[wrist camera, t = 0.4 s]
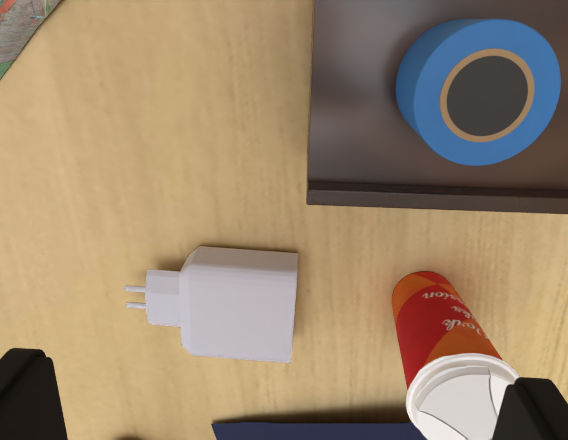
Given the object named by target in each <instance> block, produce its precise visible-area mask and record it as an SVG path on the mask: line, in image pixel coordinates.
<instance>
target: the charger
mask: <svg viewBox="0 0 568 440" xmlns="http://www.w3.org/2000/svg"><path fill="white" fill-rule="evenodd" d="M297 272H298V253H288V252H274V251H260V250H246V249H232V248H219V247H205V246H199V247H198V248H197V249H196V250H194V251H193V252H192V253H191V254H190V255H189V256H188V257H187V259H186V261H185V263H184V265H183V267H182V269H181V271H180V272H178V271H164V270H151V269H148V271H147V275H146V287H143V286H130V285H126V286H125V287H124V290H125V291H134V292H145V301H146V303H136V302H127V303H126V307H128V308H141V309H146V315H147V318H148V321H149V324H151V325H164V326H177V327H180V328H181V345H182V346H183V347H184V348H185V349H186V350H187V351H188V352H189V353H190V354H191V355H192V356H204V357H217V358H230V359H242V360H255V361H268V362H281V363H291V352H292V340H293V329H294V316H295V304H296V289H297Z"/></svg>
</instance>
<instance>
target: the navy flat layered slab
mask: <svg viewBox="0 0 568 440" xmlns="http://www.w3.org/2000/svg"><path fill="white" fill-rule="evenodd" d="M211 425H212V428H213V431H214V433H215V436H216V439H217V440H428V439H427V438H426V437H425V436H424V435H423V434H422V433H421V431H420V430H419V429H418V428H417V427H416V426H415V425H414V424H413V423H404V422H400V423H266V422H240V423H222V424H211Z"/></svg>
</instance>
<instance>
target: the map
mask: <svg viewBox="0 0 568 440" xmlns="http://www.w3.org/2000/svg"><path fill="white" fill-rule="evenodd" d="M59 1H60V0H0V79H1V77H2V76H3V74H4V73H5V71H6V70H7V69H8V67H9V66H10V65H11V63H12V61H14V59H15V58H16V57H17V55H18V54H19V52H20V51H21V50H22V48H23V47H24V46H25V44H26V43H27V41H28V40H29V38H30V37H31V36H32V34H33V33H34V31H35V30H36V29H37V28H38V26H39V25H40V24H41V23H42V22H43V21H44V19H45V18H46V17H47V16H48V15H49V13H50V12H51V11H52V10H53V9H54V7H55V6H56V5H57V4H58V3H59Z"/></svg>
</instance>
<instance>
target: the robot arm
mask: <svg viewBox="0 0 568 440" xmlns="http://www.w3.org/2000/svg"><path fill="white" fill-rule="evenodd" d="M0 440H68V438H67V433H66V427H65V422H64V417H63V412H62V407H61V402H60V396H59V391H58V386H57V381H56V376H55V370H54V365H53V361H52V359H51V358H49V357H46V355H45V353H44V352H43V350H40V349H24V348H13V349H10V350H9V351H8V352H6V353H5V355H4V356H3V357H2V358H1V359H0ZM492 440H568V404H567V402H566V401H565V399H564V398H563V396H562V395H561V393H560V392H559V390H558V389H557V387H556V386H555V384H554V383H553V382H552V381H551V380H549V379H542V378H525V377H519V378H517V379H516V380H515V382H514V384H508V385H507V387H506V389H505V393H504V396H503V400H502V404H501V407H500V411H499V415H498V418H497V422H496V426H495V429H494V433H493V437H492Z"/></svg>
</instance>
